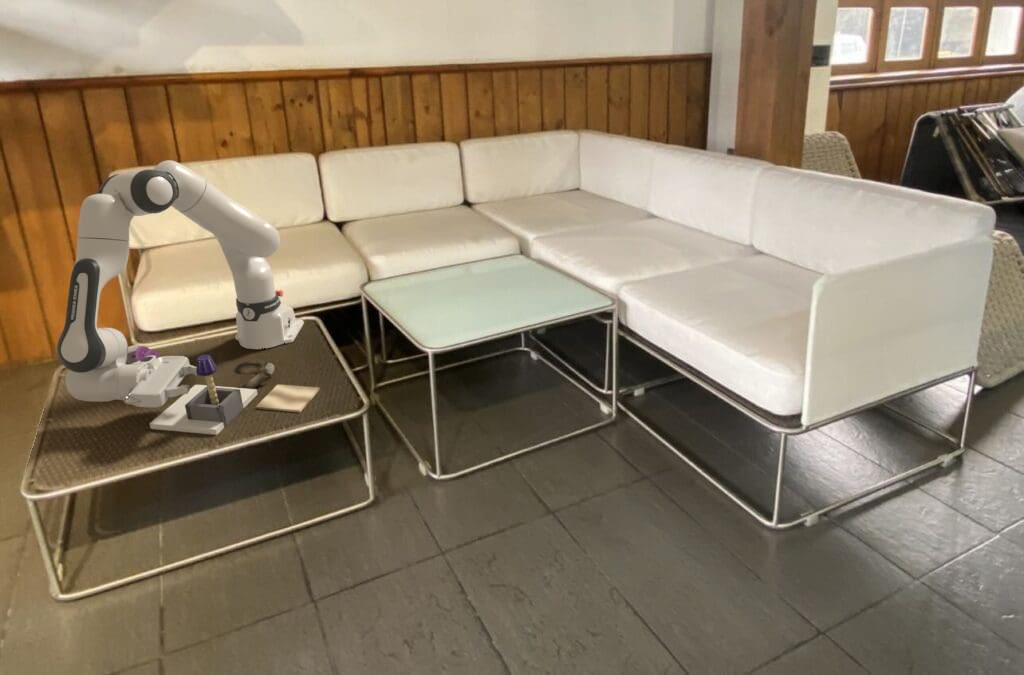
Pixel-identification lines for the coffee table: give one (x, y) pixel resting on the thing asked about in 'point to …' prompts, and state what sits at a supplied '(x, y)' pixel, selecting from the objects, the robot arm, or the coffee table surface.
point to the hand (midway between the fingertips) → (195, 379)
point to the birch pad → (288, 398)
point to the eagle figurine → (255, 372)
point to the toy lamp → (208, 375)
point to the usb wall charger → (131, 354)
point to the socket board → (203, 410)
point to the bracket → (145, 353)
